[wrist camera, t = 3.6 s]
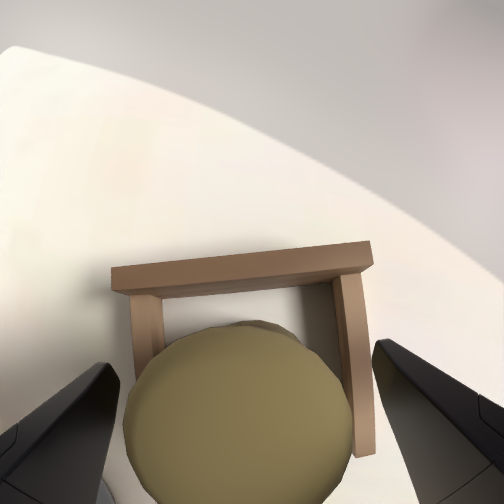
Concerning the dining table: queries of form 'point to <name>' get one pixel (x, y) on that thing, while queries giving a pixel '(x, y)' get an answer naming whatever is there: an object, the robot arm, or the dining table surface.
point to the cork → (238, 420)
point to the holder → (261, 278)
